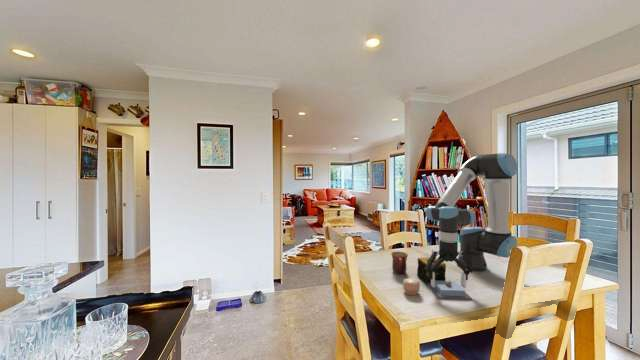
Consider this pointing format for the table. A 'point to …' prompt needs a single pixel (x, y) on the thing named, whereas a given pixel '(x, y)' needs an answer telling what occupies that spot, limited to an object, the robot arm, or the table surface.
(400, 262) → the mug
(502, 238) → the robot arm
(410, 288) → the bowl
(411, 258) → the table surface
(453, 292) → the lid
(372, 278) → the table surface
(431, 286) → the mat
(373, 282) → the table surface
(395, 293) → the table surface
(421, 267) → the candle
